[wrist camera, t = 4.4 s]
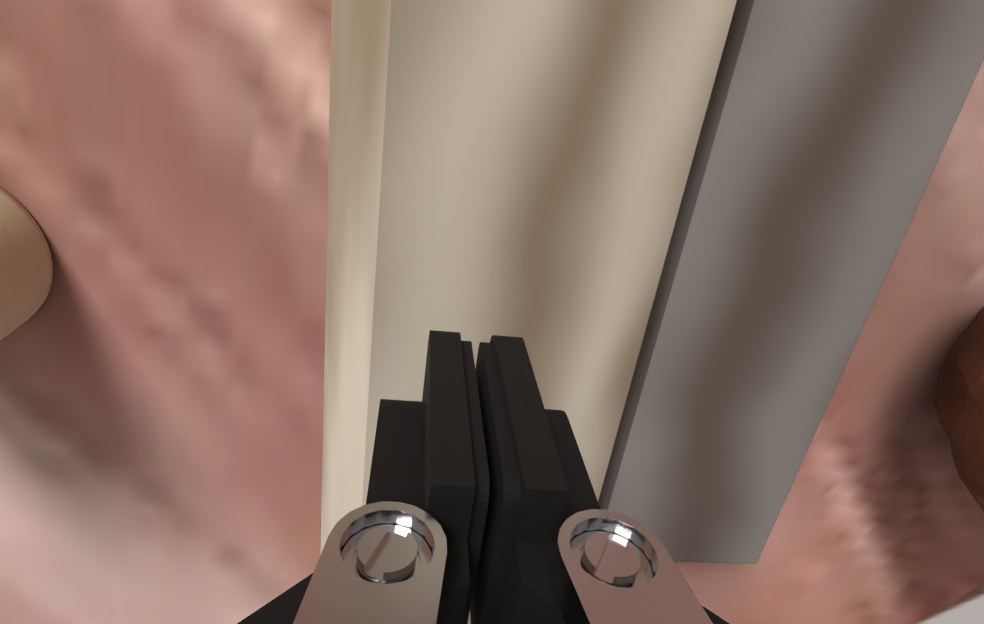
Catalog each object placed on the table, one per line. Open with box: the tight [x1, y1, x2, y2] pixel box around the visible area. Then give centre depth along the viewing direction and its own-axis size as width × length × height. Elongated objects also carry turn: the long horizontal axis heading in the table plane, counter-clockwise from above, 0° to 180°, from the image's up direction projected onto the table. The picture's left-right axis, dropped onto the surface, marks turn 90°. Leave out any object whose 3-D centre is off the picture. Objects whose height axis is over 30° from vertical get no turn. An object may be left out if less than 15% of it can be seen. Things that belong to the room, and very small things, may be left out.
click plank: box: [321, 0, 737, 624], centre depth 16 cm, size 10×24×2 cm
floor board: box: [598, 0, 984, 564], centre depth 20 cm, size 7×24×2 cm, turn 172°
